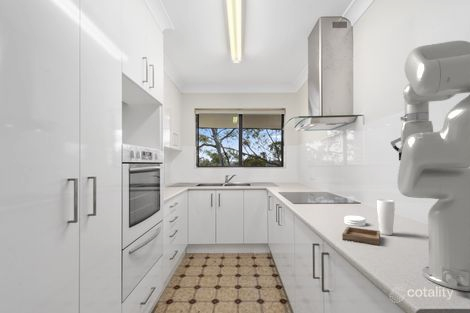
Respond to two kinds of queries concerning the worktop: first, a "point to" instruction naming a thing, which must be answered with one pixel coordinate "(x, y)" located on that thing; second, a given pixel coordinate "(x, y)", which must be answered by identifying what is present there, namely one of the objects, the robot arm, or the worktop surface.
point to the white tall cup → (385, 216)
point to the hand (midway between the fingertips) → (416, 162)
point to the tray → (361, 235)
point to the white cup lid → (355, 220)
